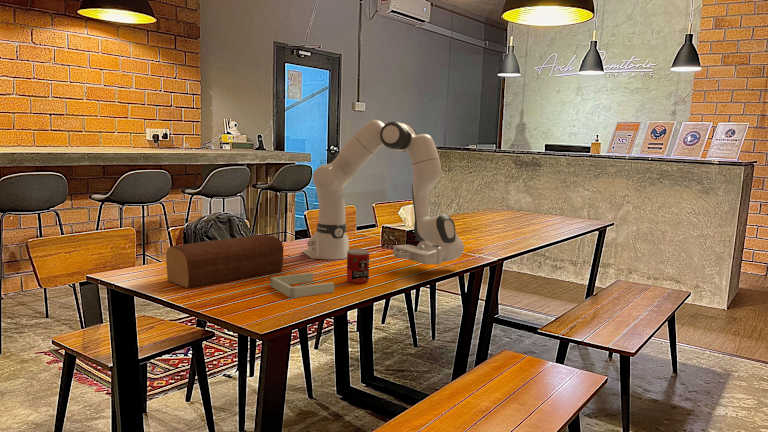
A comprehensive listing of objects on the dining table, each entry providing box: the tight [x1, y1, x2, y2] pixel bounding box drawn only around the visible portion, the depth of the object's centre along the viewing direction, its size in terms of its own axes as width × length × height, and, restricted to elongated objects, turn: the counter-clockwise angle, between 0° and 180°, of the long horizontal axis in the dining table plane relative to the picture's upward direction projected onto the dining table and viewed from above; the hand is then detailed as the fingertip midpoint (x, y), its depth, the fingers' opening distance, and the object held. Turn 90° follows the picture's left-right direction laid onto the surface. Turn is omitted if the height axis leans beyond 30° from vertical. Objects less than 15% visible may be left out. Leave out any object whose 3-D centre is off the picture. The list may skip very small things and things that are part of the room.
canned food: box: [346, 248, 370, 285], centre depth 206 cm, size 8×8×11 cm
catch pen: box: [269, 272, 335, 299], centre depth 194 cm, size 16×15×3 cm
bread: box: [165, 234, 284, 289], centre depth 208 cm, size 16×39×13 cm, turn 137°
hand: (397, 255), depth 214 cm, fingers closed
